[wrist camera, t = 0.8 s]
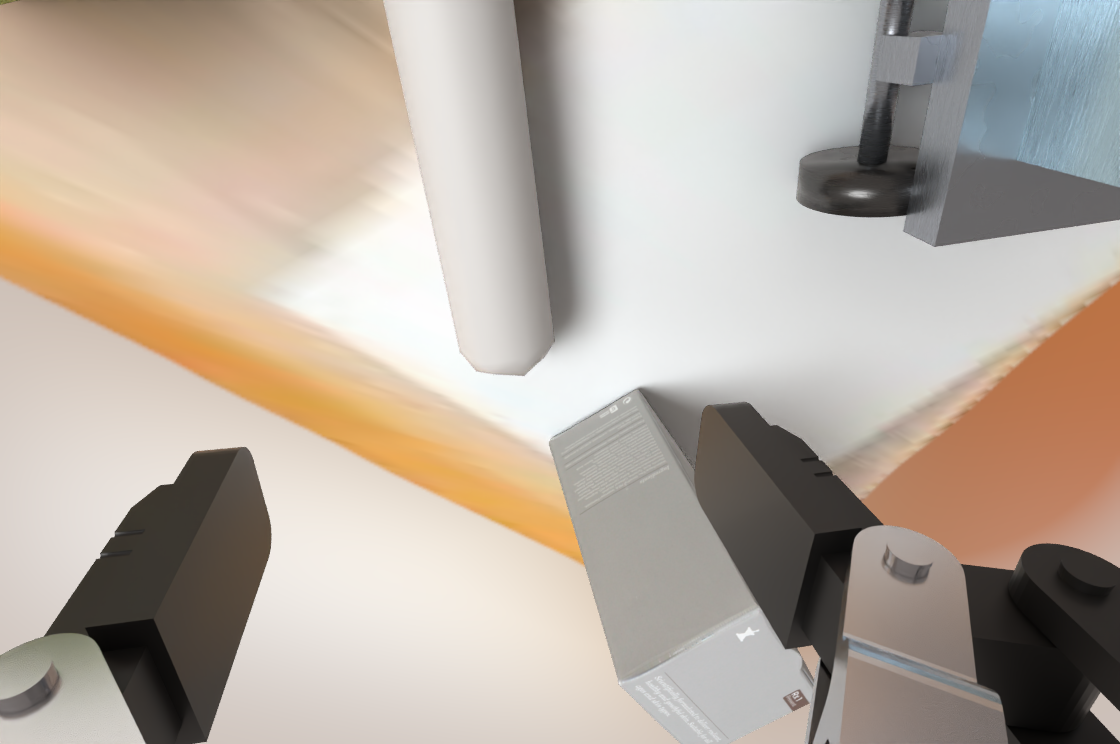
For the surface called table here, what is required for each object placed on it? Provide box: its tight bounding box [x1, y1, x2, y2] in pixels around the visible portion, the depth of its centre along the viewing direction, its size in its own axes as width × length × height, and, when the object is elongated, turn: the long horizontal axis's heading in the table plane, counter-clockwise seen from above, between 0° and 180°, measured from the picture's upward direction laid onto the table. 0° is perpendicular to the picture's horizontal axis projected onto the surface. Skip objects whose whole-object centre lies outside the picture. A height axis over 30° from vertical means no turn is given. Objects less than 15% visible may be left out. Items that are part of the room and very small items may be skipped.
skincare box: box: [549, 389, 814, 744], centre depth 31 cm, size 8×7×16 cm
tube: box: [383, 0, 555, 376], centre depth 25 cm, size 5×5×25 cm
